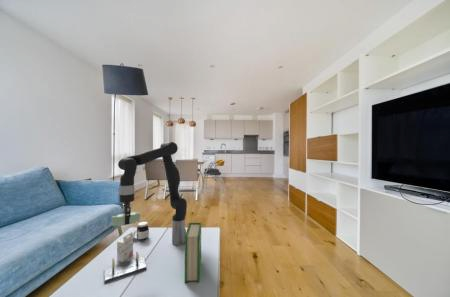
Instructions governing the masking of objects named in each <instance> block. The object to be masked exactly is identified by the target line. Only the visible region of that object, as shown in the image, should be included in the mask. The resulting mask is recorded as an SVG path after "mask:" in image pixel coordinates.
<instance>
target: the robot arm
mask: <svg viewBox="0 0 450 297" xmlns="http://www.w3.org/2000/svg"><path fill="white" fill-rule="evenodd" d="M178 148H179V147H178V143H175V142H173V141H166V142H165V141H164V142H162V143H161V144H160V147H158V148H155V149H149V150H146V151H143V152H141V153H138V154H134V155H131V156H126V157H124V158H121V159H120V160H119V161H118V163H117V164H118V165H117V166H118V168H119V169H120V170H123V171H124V172H123V174H122V175H121V176H120V179H119V180H120V182H119V185H120V186H119V203H122V214H125V225H124V226H126V225H127V226H128V225H130V224H129V217H130V213H132V211H131V210H132V204H131V202H134V201H135V176H136V173H137V168H138V166H142V165H146V164H148V163H150V162H152V161H154V160H157V159H160V158H162V161H163V165H164V170H165V176H166V181H167V184H168V186H167V187H168V191H169V201H170V206H171V208H172V209H174V210H175V213H174V214H173V215H172V222H171V224H172V225H171V226H172V230H171V244H172V245H173V246H182V245H183V244H184V245H185V235H186V232H187V229H186V216H187V208H188V206H187V200H186V199H185V198H184V197H181V196H180V192H179V188H180V183H181V176H180V171H179V169H178V167H177V166H176V164H175V163H174V161H173V158H172V155H175V154H176V153H177V152H178V150H179V149H178ZM127 214H129V215H127ZM126 215H127V216H126Z"/></svg>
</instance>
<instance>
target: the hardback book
mask: <svg viewBox="0 0 450 297" xmlns="http://www.w3.org/2000/svg"><path fill="white" fill-rule="evenodd" d="M201 264H202V222H188V225H187V229H186V235H185V243H184V284H186V283H187V282H190V281H196V282H197V283H198V284H199V283H200V276H201V268H202V266H201Z"/></svg>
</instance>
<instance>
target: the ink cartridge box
mask: <svg viewBox="0 0 450 297" xmlns="http://www.w3.org/2000/svg"><path fill="white" fill-rule="evenodd" d="M133 233H134V232H133V231H132V232H130V233H128V234H127V235H125V236H123V237H122V238H121V239H119V240H118V241H117V242H116V261H118V262H126V260H128V259H129V258H131V256H133V255H134V239H133Z"/></svg>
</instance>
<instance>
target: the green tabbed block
mask: <svg viewBox="0 0 450 297" xmlns="http://www.w3.org/2000/svg"><path fill="white" fill-rule="evenodd" d="M127 215H129V214H127ZM127 215H126V216H127ZM111 218H112V219H111V227H121V226H126V225H125V214H124V213H120V214H116V215H113V216H112V217H111ZM137 222H141V212H140V211H139V212H138V211H137V212H135V211H133V212H132V211H131V213H130V217H129V224H128V225H131V224H132V225H133V224H136V223H137Z"/></svg>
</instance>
